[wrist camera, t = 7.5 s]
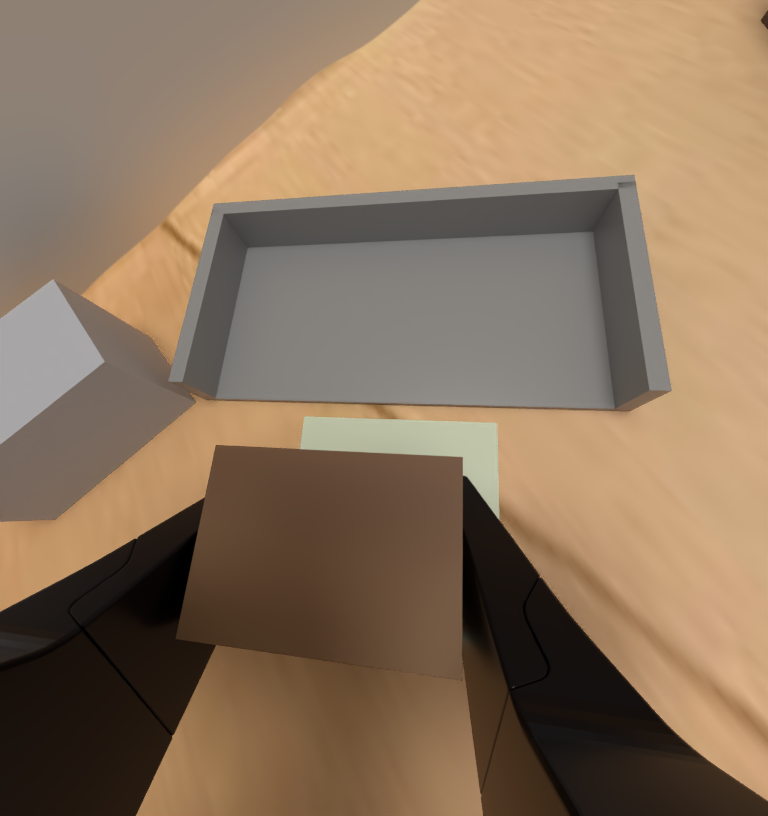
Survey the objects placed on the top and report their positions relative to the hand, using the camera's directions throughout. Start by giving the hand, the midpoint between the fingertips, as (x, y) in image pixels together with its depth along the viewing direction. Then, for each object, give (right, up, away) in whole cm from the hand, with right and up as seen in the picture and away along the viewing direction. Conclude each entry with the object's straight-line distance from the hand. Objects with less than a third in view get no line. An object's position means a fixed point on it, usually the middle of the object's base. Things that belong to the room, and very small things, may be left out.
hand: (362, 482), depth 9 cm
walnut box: (+1, -3, +6) cm, 7 cm away
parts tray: (+2, +7, +10) cm, 13 cm away
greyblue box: (-16, +1, +11) cm, 20 cm away
